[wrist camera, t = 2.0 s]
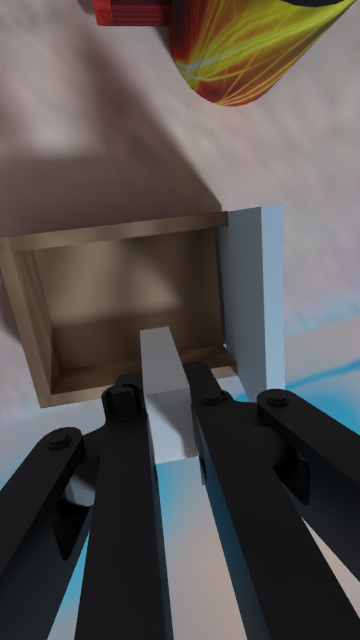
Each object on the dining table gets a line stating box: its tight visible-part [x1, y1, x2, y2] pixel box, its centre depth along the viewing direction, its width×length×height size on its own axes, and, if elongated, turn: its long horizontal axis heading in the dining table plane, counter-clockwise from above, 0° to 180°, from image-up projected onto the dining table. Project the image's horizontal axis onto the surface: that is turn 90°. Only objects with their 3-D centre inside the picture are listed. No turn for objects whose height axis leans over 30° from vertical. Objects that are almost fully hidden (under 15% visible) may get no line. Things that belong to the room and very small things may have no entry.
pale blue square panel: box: [218, 204, 285, 402], centre depth 22 cm, size 13×13×1 cm
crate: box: [0, 211, 238, 408], centre depth 26 cm, size 16×13×6 cm
